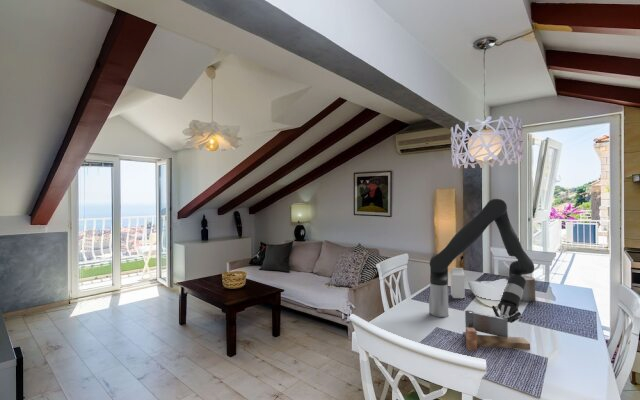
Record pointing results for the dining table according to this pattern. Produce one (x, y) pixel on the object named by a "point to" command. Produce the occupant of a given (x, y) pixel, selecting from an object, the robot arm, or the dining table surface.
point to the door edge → (493, 341)
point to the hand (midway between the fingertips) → (500, 328)
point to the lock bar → (487, 323)
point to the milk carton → (457, 283)
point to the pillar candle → (529, 289)
